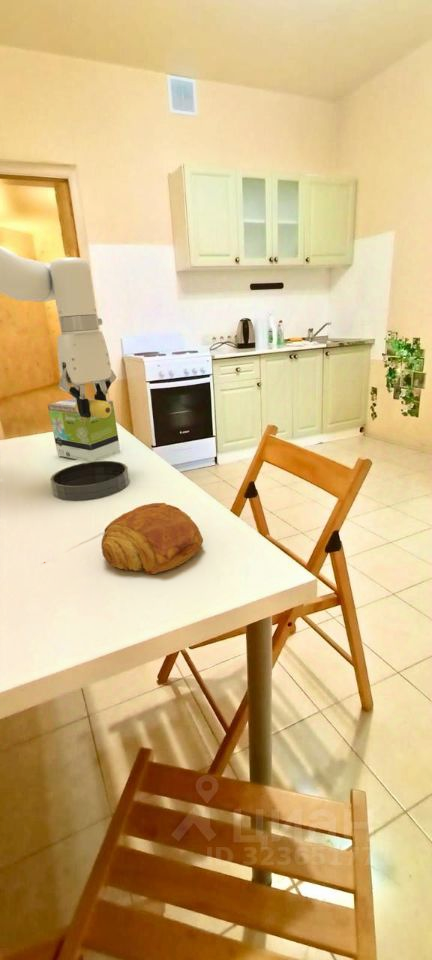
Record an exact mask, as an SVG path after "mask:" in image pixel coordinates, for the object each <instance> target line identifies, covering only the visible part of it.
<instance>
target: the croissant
mask: <svg viewBox="0 0 432 960" xmlns="http://www.w3.org/2000/svg"><path fill="white" fill-rule="evenodd" d="M203 542H204V538H203V536H202V534H201V531H200V529H199V526H198V525H197V524H196V523H195V522H194V520H193V519H192V518H191V517H190V515H189V514H188V513H186V512H185V511H183V510H182V509H180V508H179V507H176V506H174V505H171V504H167V503H166V502H153V503H147V504H143V505H140V506H138V507H136V508H134V509H132V510H130V511H128V512H127V511H126V512H125V513H122V514H121V515H119V516H118V517H116V518H115V519H113V520H112V521H111V522H110V523H109V524H108V525H106V527H105V528H104V533H103V535H102V538H101V553H102V556H103V558H104V560H106V561H107V562H108V563H109V565H111V566H112V567H113V568H117V569H121V570H125V571H126V572H127V571H129V570H130V571H131V570H132V571H134V572H140V571H142V573H143V574H145V575H147V576H148V575H155V574H158V573H162V572H165V571H168V570H172V569H175V568H176V567H180V565H182V564H184V563H186V562H188V561H189V560H190V559H192V558H193V556H196V554H197V552H199V551H200V550H201V547H202V546H203Z"/></svg>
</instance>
